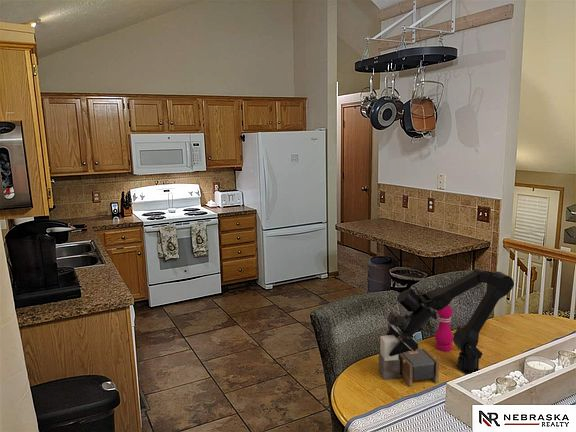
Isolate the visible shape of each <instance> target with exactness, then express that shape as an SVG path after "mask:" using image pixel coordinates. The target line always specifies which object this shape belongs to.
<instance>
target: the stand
mask: <svg viewBox="0 0 576 432" xmlns="http://www.w3.org/2000/svg"><path fill="white" fill-rule="evenodd" d="M378 372H379V374H380V376H381V378H382V380H399V379H401V376H400V360H399V358H398V360H388V361H384V359H383V357H382V355H381V354H380V352H379V353H378Z"/></svg>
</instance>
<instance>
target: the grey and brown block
mask: <svg viewBox="0 0 576 432" xmlns="http://www.w3.org/2000/svg"><path fill="white" fill-rule="evenodd" d="M411 350H412V349H411ZM402 354H403V355H404V356H405V358H406V359H407V360H408V361H409V362H410V363H411V364H412V365H413V374H412V381H418V380H419V381H420V380H425V379H427V380H428V379H431V378H434V361H433V360H432V359H431V358H430V357H429V356H428V355H427V354H426V353H425V352H424V351H423V350H422V348H421V347H419V346H418V349H417V350H416V351H415V352H414V351H413V350H412V351H408V352H404V353H402Z"/></svg>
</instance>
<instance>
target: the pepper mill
mask: <svg viewBox="0 0 576 432" xmlns="http://www.w3.org/2000/svg"><path fill="white" fill-rule="evenodd" d="M436 312H437V314H436V315H437V321H438V327H437V329H436V331H435V333H434V340H435V341H436V342H435V348H436V350H437V351H440V352H450V351H452V350H453V345H452V343H454V342H453V337H454V335H453V334H454V333H453V332H452V330H451V321H452V316H453V313H454V312H453V309H452V307H451V306H450V305H447V306H446V307H445V308H444V309H442V310H440V311H437V310H436Z"/></svg>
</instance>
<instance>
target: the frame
mask: <svg viewBox="0 0 576 432" xmlns="http://www.w3.org/2000/svg"><path fill="white" fill-rule="evenodd" d="M421 349H422V350H423V351H424V352H425V353H426V354H427V355H428V356H429V357H430V358H431V359H432V360H433V361H434V378H430V380H432V381H433V382H434V383H435V384H439V375H440V372H439V371H440V370H439V369H440V368H439V367H440V361H438V360H437V359H436V358H437V357H436V356H435V355H432V354H431V353H430V352H429V351H428V350H427V349H426V348H425V347H423V348H421ZM398 358H399V360H400V378H401V379H402V380H403V381H404V382H405V383H406V385H407V386H408V387H409V388H412V387H413V379H412V374H413V365H412V364H411V363H410V362H409V361H408V360H407V359H406V358H405V356H404V355H403V354H402V353H400V354H398Z"/></svg>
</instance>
